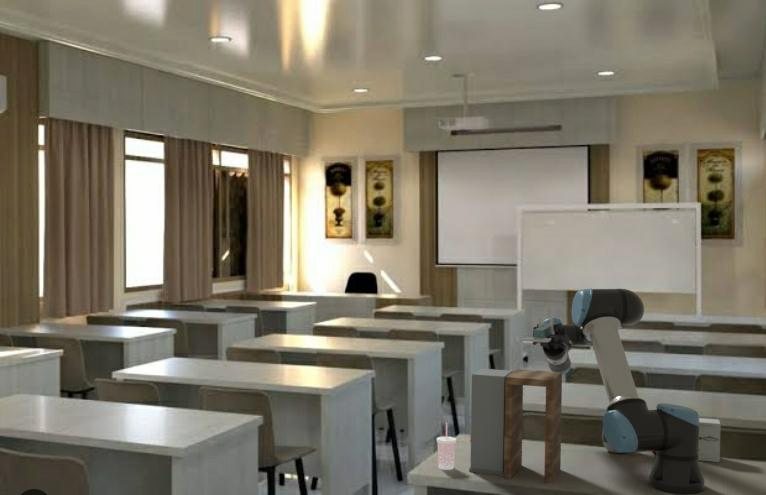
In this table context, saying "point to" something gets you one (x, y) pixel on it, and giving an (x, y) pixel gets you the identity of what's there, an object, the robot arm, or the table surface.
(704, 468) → the table surface
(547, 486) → the table surface
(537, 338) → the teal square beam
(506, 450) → the riser
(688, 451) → the robot arm
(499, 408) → the pedestal
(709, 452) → the supplement box
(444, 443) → the beverage cup
